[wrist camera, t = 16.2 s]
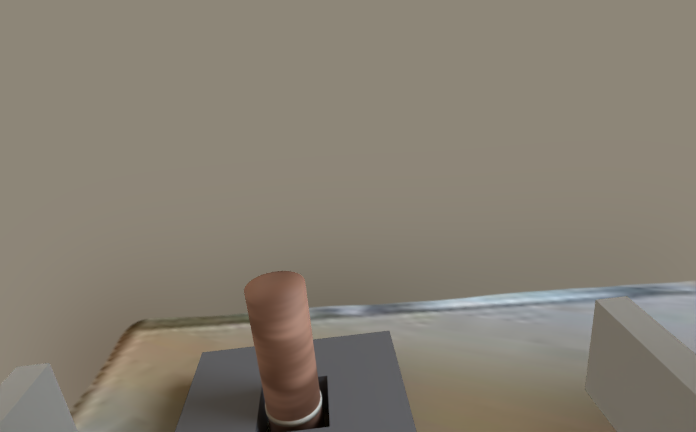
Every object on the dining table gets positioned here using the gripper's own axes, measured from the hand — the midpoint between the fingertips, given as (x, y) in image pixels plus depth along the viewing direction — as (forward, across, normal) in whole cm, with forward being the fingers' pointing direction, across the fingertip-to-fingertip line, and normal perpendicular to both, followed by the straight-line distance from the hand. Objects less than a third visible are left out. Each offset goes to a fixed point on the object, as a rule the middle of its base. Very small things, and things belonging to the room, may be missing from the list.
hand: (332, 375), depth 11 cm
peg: (+23, -5, -26) cm, 35 cm away
